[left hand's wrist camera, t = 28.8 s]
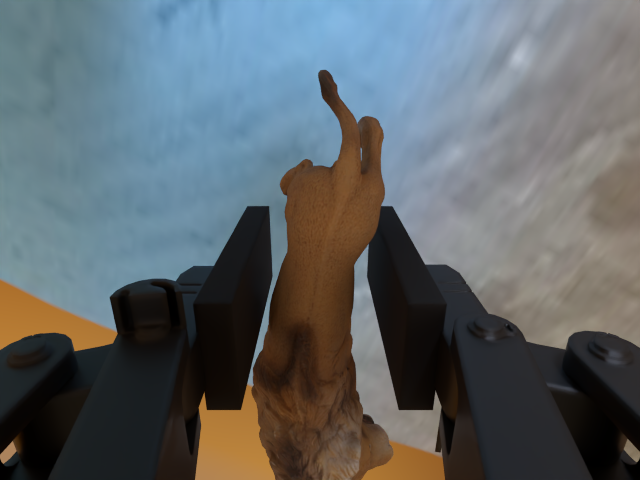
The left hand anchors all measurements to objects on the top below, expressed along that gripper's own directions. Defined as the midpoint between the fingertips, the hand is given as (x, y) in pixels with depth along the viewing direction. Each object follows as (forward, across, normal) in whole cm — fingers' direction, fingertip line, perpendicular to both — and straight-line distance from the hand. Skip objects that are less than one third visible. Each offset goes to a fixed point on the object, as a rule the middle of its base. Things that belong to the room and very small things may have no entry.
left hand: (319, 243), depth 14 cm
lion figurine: (+1, 0, 0) cm, 1 cm away
